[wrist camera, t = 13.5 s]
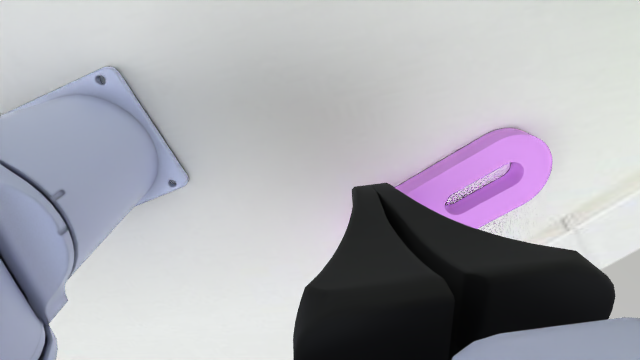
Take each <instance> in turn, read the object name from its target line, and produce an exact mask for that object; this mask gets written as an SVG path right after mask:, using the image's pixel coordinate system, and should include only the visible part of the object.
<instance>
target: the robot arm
mask: <svg viewBox="0 0 640 360" xmlns="http://www.w3.org/2000/svg"><path fill="white" fill-rule="evenodd" d="M100 75H101V76H103V77H104V78H105V80H106V82H105V84H104V83H102V82H101V81H100V79H99V77H100ZM170 180H174V181H175V182H176V184H172V183H171V182H170ZM187 182H188V176H187V174H186V173H185V171H184V170H183V168H182V167H181V165H180V164H179V162H178V161H177V159H176V158H175V156H174V155H173V153H172V152H171V150H170V148H169V147H168V145H167V144H166V142H165V141H164V139H163V138H162V136H161V135H160V133H159V132H158V130H157V129H156V127H155V126H154V124H153V123H152V121H151V120H150V118H149V117H148V115H147V114H146V112H145V111H144V109H143V108H142V106H141V105H140V103H139V102H138V100H137V99H136V97H135V96H134V94H133V92H132V91H131V89H130V88H129V86H128V85H127V83H126V82H125V80H124V79H123V77H122V76H121V74H120V73H119V72H118V70H117V69H115V68H114V67H110V66H108V67H103V68H101V69H99V70H97V71H94V72H92V73H90V74H88V75H86V76H84V77H82V78H80V79H77V80H75V81H73V82H71V83H69V84H67V85H65V86H63V87H60V88H58V89H56V90H54V91H52V92H50V93H48V94H45V95H43V96H41V97H39V98H37V99H35V100H33V101H31V102H28V103H26V104H24V105H22V106H20V107H18V108H16V109H14V110H11V111H9V112H7V113H5V114H3V115H0V360H56V356H57V350H58V348H57V340H56V337H55V335H54V333H53V331H52V330H51V328H50V326H49V325H48V324H49V323H50V322H51V320H52V319H53V318H54V317H55V316H56V314H57V313H58V312H59V311H60V310H61V308H62V307H63V306H64V305H65V304H66V303H67V301H68V299H67V296H66V294H65V284H66V281H67V280H68V279H69V278H70V277H71V276H72V274H73V273H74V272H75V271H76V270H77V269H78V268H79V267H80V266H81V265H82V263H83V262H84V261H85V260H86V259H87V258H88V257H89V256H90V255H91V254H92V252H93V251H94V250H95V249H96V248H97V247H98V246H99V245H100V244H101V242H102V241H103V240H104V239H105V238H106V237H107V236H108V235H109V234H110V233H111V231H112V230H113V229H114V228H115V227H116V226H117V225H118V224H119V223H120V221H121V220H122V219H123V218H124V217H125V216H126V215H127V214H128V213H129V212H130V210H131V209H132V208H133V207H135V206H137V205H140V204H142V203H144V202H147V201H149V200H152V199H154V198H157V197H159V196H162V195H164V194H167V193H169V192H171V191H174V190H176V189H179V188H181V187H184V186H185V185H186V184H187ZM352 200H353V208H352V214H351V217H350V221H349V224H348V227H347V230H346V232H345V235H344V237H343V239H342V241H341V243H340V245H339V247H338V248H337V250H336V252H335V253H334V255H333V257H332V258H331V259H330V261H329V262H328V263H327V265H326V266H325V267H324V268H323V270H322V271H321V272H320V273H319V274H318V275H317V276H316V277H315V278H314V279H313V280H312V281H311V282H310V283H309V284H308V285H307V286H306V287H305V289H304V292H303V295H302V298H301V301H300V305H299V309H298V312H297V317H296V321H295V327H294V336H293V349H294V360H640V318H629V317H623V318H616V319H608V318H609V316H610V314H611V311H612V308H613V304H614V300H615V290H614V285H613V283H612V282H611V280H610V279H609V278H608V276H606V275H605V274H604V273H603V272H602V271H600V270H599V269H598V268H597V267H595V266H594V265H593V264H592V263H591V262H589V261H588V260H587V259H586V258H584V257H583V256H582V255H581V254H579V253H578V252H577V251H573V250H567V249H561V248H555V247H549V246H543V245H536V244H531V243H527V242H522V241H518V240H514V239H509V238H506V237H502V236H498V235H494V234H491V233H488V232H485V231H482V230H478V229H475V228H472V227H470V226H467V225H464V224H462V223H459V222H457V221H454V220H452V219H450V218H447V217H445V216H443V215H441V214H439V213H437V212H435V211H433V210H431V209H429V208H427V207H426V206H424V205H422V204H420V203H418V202H417V201H415V200H413V199H412V198H410V197H409V196H407V195H405V194H404V193H402V192H401V191H399V190H398V189H396V188H394V187H393V186H391V185H390V184H388V183H381V184H373V185H365V186H357V187H354V188H353V189H352Z"/></svg>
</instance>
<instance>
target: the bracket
mask: <svg viewBox="0 0 640 360" xmlns="http://www.w3.org/2000/svg"><path fill="white" fill-rule="evenodd" d="M510 162H511V167H510V169H509V171H508V172H507V173H506V174H505V175H504V176H502V177H500V178H499V179H497V180H495V181H493V182H491V183H490V184H488V185H486V186H484V187H482V188H481V189H479V190H477V191H475V192H473V193H472V194H470V195H468V196H466V197H464V198H462V199H461V200H459V201H457V202H455V203H453V204H450V205H445V202H446V200H447V199H448V197H449V196H450V195H452V194H453V193H455V192H457V191H459V190H461V189H462V188H464V187H466V186H468V185H470V184H471V183H473V182H475V181H477V180H478V179H480V178H482V177H484V176H486V175H487V174H489V173H491V172H493V171H495V170H496V169H498V168H500V167H502V166H503V165H505V164H507V163H510ZM551 169H552V155H551V152H550V149H549V147H548V146H547V145H546V144H545V143H544V142H543V141H542V140H541V139H539V138H537V137H535V136H533V135H531V134H529V133H526V132H524V131H522V130H519V129H515V128H503V129H498V130H495V131H492V132H489V133H487V134H485V135H484V136H482V137H480V138H478V139H477V140H475V141H473V142H472V143H470V144H468V145H467V146H465V147H463V148H461V149H460V150H458V151H456V152H455V153H453V154H451V155H450V156H448V157H446V158H444V159H443V160H441V161H439V162H438V163H436V164H434V165H433V166H431V167H429V168H427V169H426V170H424V171H422V172H421V173H419V174H417V175H415V176H414V177H412V178H410V179H409V180H407V181H405V182H404V183H402V184H400V185H398V186H397V187H395V188H396V189H398V190H399V191H401V192H402V193H404V194H405V195H407V196H409V197H410V198H412V199H413V200H415V201H417V202H418V203H420V204H422V205H424V206H426V207H427V208H429V209H431V210H433V211H435V212H437V213H439V214H441V215H443V216H445V217H447V218H450V219H452V220H454V221H457V222H459V223H462V224H464V225H467V226H470V227H472V228H475V229H478V228H479V227H481V226H483V225H485V224H487V223H489V222H491V221H493V220H495V219H496V218H498V217H500V216H502V215H504V214H506V213H508V212H510V211H512V210H514V209H515V208H517V207H519V206H521V205H523V204H525V203H526V202H528V201H529V200H531V199H532V198H533V197H534V196H536V195H537V194H538V193H539V191H540V190H541V189H542V188H543V187H544V185H545V184H546V182H547V180H548V178H549V176H550V173H551Z"/></svg>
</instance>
